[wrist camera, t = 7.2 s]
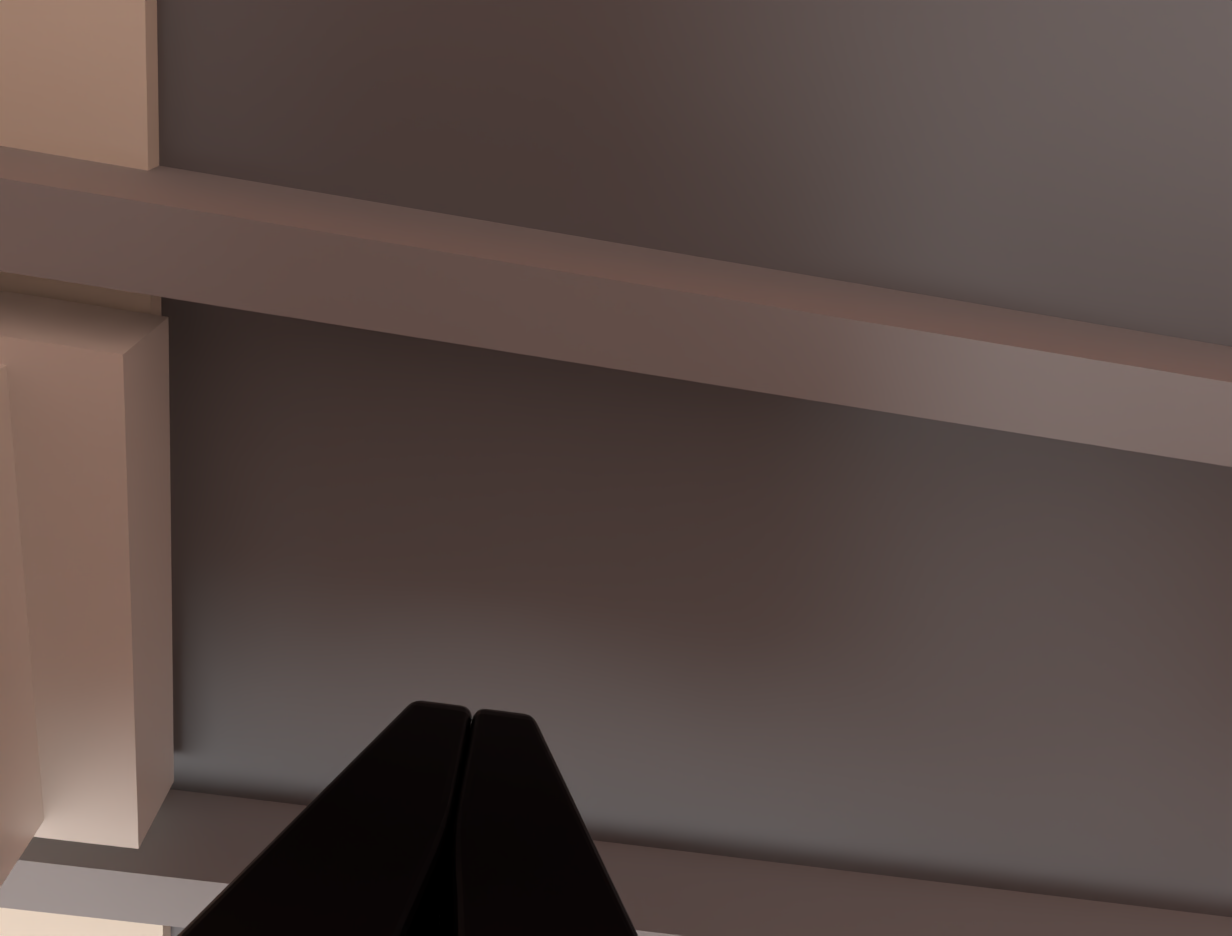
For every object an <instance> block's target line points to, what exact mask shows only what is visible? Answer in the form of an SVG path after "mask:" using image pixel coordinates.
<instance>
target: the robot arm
mask: <svg viewBox="0 0 1232 936" xmlns="http://www.w3.org/2000/svg"><path fill="white" fill-rule="evenodd" d="M471 721H472V723H471ZM177 936H638V934H637V932H636V930H635V928H634V926H633V923H632V921H631V919H630V917H629V915H628V913H627V911H626V909H625V907H624V905H623V902H622V900H621V898H620V896H619V894H618V892H617V890H616V888H615V886H614V884H613V881H612V879H611V877H610V875H609V873H608V871H607V869H606V867H605V865H604V863H603V860H602V858H601V856H600V854H599V852H598V850H597V848H596V846H595V844H594V842H593V839H592V837H591V835H590V833H589V831H588V829H587V827H586V825H585V823H584V820H583V818H582V816H581V814H580V812H579V810H578V808H577V806H576V804H575V802H574V799H573V797H572V795H571V793H570V791H569V789H568V787H567V785H566V783H565V781H564V778H563V776H562V774H561V772H560V770H559V768H558V766H557V764H556V762H555V760H554V757H553V755H552V753H551V751H550V749H549V747H548V745H547V743H546V741H545V739H544V736H543V734H542V732H541V730H540V728H539V726H538V724H537V722H536V721H535V719H534V718H533V717H532V716H530V715H528V714H524V713H516V712H508V711H501V710H493V709H480V710H478V711H476V713H475V714H474V715H473V718H472V714H471V712H470V710H469V709H468V708H467V707H465V706H462V705H454V704H447V703H439V702H431V701H424V700H419V701H415V702H412V703H410V704H409V705H408V706H407V707H406V708H405V709H404V710H403V711H402V712H401V713H400V714H399V715H398V716H397V717H396V718H395V719H394V720H393V721H392V722H391V723H390V724H389V725H388V726H387V727H386V728H385V729H384V730H383V731H382V732H381V733H380V734H379V735H378V736H377V737H376V738H375V739H374V740H373V741H372V742H371V743H370V744H369V745H368V746H367V747H366V748H365V749H364V750H363V751H362V752H361V753H360V754H359V755H358V756H357V757H356V758H355V759H354V760H353V761H352V762H351V763H350V764H349V765H348V766H347V767H346V768H345V769H344V770H343V771H342V772H341V773H340V774H339V775H338V776H337V777H336V778H335V779H334V780H333V781H332V782H331V783H330V784H329V785H328V786H327V787H326V788H325V789H324V790H323V791H322V792H321V793H320V794H319V795H318V796H317V797H316V798H315V799H314V800H313V801H312V802H311V803H310V804H309V805H308V806H307V807H306V808H305V809H304V810H303V811H302V812H301V813H300V814H299V815H298V816H297V817H296V818H295V819H294V820H293V821H292V822H291V823H290V824H289V825H288V826H287V827H286V828H285V829H284V830H283V831H282V832H281V833H280V834H278V835H277V836H276V837H275V838H274V839H273V840H272V841H271V842H270V843H269V844H268V845H267V846H266V847H265V848H264V849H263V850H262V851H261V852H260V853H259V854H258V855H257V856H256V857H255V858H254V859H253V860H252V861H251V862H250V863H249V864H248V865H247V866H246V867H245V868H244V869H243V870H242V871H241V872H240V873H239V874H238V875H237V876H236V877H235V878H234V879H233V880H232V881H231V882H230V883H229V884H228V885H227V886H226V887H225V888H224V889H223V890H222V891H221V892H220V893H219V894H218V895H217V896H216V897H215V898H214V899H213V900H212V901H211V902H210V903H209V904H208V905H207V906H206V907H205V908H204V909H203V910H202V911H201V912H200V913H199V914H198V915H197V916H196V917H195V918H194V919H193V920H192V921H191V922H190V923H189V924H188V925H187V926H186V927H185V928H184V929H183V930H182V931H181V932H180V933H179V934H178V935H177Z"/></svg>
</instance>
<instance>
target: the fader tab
mask: <svg viewBox="0 0 1232 936" xmlns="http://www.w3.org/2000/svg"><path fill="white" fill-rule="evenodd" d="M173 782H174V746H173V661H172V577H171V492H170V407H169V323H168V317H166V316H159V315H153V314H147V313H140V312H134V311H127V310H121V309H115V308H108V307H102V306H96V305H89V304H83V303H77V302H70V301H64V300H58V299H51V298H45V297H39V296H32V295H26V294H20V293H13V292H7V291H0V887H1V886H2V884H3V883H4V881H5V880H6V878H7V877H8V875H9V874H10V872H11V870H12V869H13V867H14V866H15V864H16V863H17V861H18V860H19V858H20V857H21V855H22V853H23V852H24V850H25V849H26V847H27V846H28V844H29V843H30V841H31V840H32V838H33V837H40V838H49V839H57V840H66V841H75V842H83V843H92V844H101V845H109V846H118V847H127V848H135V849H139V847H140V845H141V843H142V842H143V840H144V838H145V836H146V834H147V832H148V830H149V828H150V826H151V824H152V822H153V820H154V818H155V817H156V815H157V813H158V811H159V809H160V807H161V805H162V803H163V801H164V799H165V797H166V795H167V794H168V792H169V790H170V788H171V786H172V784H173Z"/></svg>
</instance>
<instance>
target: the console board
mask: <svg viewBox="0 0 1232 936" xmlns="http://www.w3.org/2000/svg"><path fill="white" fill-rule="evenodd" d="M0 291H7V292H13V293H20V294H26V295H32V296H39V297H45V298H51V299H58V300H64V301H70V302H77V303H83V304H89V305H96V306H102V307H108V308H115V309H121V310H127V311H134V312H140V313H147V314H153V315H159V316H166V317H168V323H169V407H170V492H171V577H172V661H173V746H174V782H173V784H172V786H171V788H170V790H169V792H168V794H167V795H166V797H165V799H164V801H163V803H162V805H161V807H160V809H159V811H158V813H157V815H156V817H155V818H154V820H153V822H152V824H151V826H150V828H149V830H148V832H147V834H146V836H145V838H144V840H143V842H142V843H141V845H140V847H139V849H135V848H127V847H118V846H109V845H101V844H92V843H83V842H75V841H66V840H57V839H49V838H40V837H33V838H32V840H31V841H30V843H29V844H28V846H27V847H26V849H25V850H24V852H23V853H22V855H21V857H20V858H19V860H18V861H17V863H16V864H15V866H14V867H13V869H12V870H11V872H10V874H9V875H8V877H7V878H6V880H5V881H4V883H3V884H2V886H1V887H0V936H177V935H178V934H179V933H180V932H181V931H182V930H183V929H184V928H185V927H186V926H187V925H188V924H189V923H190V922H191V921H192V920H193V919H194V918H195V917H196V916H197V915H198V914H199V913H200V912H201V911H202V910H203V909H204V908H205V907H206V906H207V905H208V904H209V903H210V902H211V901H212V900H213V899H214V898H215V897H216V896H217V895H218V894H219V893H220V892H221V891H222V890H223V889H224V888H225V887H226V886H227V885H228V884H229V883H230V882H231V881H232V880H233V879H234V878H235V877H236V876H237V875H238V874H239V873H240V872H241V871H242V870H243V869H244V868H245V867H246V866H247V865H248V864H249V863H250V862H251V861H252V860H253V859H254V858H255V857H256V856H257V855H258V854H259V853H260V852H261V851H262V850H263V849H264V848H265V847H266V846H267V845H268V844H269V843H270V842H271V841H272V840H273V839H274V838H275V837H276V836H277V835H278V834H280V833H281V832H282V831H283V830H284V829H285V828H286V827H287V826H288V825H289V824H290V823H291V822H292V821H293V820H294V819H295V818H296V817H297V816H298V815H299V814H300V813H301V812H302V811H303V810H304V809H305V808H306V807H307V806H308V805H309V804H310V803H311V802H312V801H313V800H314V799H315V798H316V797H317V796H318V795H319V794H320V793H321V792H322V791H323V790H324V789H325V788H326V787H327V786H328V785H329V784H330V783H331V782H332V781H333V780H334V779H335V778H336V777H337V776H338V775H339V774H340V773H341V772H342V771H343V770H344V769H345V768H346V767H347V766H348V765H349V764H350V763H351V762H352V761H353V760H354V759H355V758H356V757H357V756H358V755H359V754H360V753H361V752H362V751H363V750H364V749H365V748H366V747H367V746H368V745H369V744H370V743H371V742H372V741H373V740H374V739H375V738H376V737H377V736H378V735H379V734H380V733H381V732H382V731H383V730H384V729H385V728H386V727H387V726H388V725H389V724H390V723H391V722H392V721H393V720H394V719H395V718H396V717H397V716H398V715H399V714H400V713H401V712H402V711H403V710H404V709H405V708H406V707H407V706H408V705H409V704H410V703H412V702H415V701H419V700H424V701H431V702H439V703H447V704H454V705H462V706H465V707H467V708H468V709H469V710H470V712H471V714H472V718H473V715H474V714H475V713H476V711H478V710H480V709H493V710H501V711H508V712H516V713H524V714H528V715H530V716H532V717H533V718H534V719H535V721H536V722H537V724H538V726H539V728H540V730H541V732H542V734H543V736H544V739H545V741H546V743H547V745H548V747H549V749H550V751H551V753H552V755H553V757H554V760H555V762H556V764H557V766H558V768H559V770H560V772H561V774H562V776H563V778H564V781H565V783H566V785H567V787H568V789H569V791H570V793H571V795H572V797H573V799H574V802H575V804H576V806H577V808H578V810H579V812H580V814H581V816H582V818H583V820H584V823H585V825H586V827H587V829H588V831H589V833H590V835H591V837H592V839H593V842H594V844H595V846H596V848H597V850H598V852H599V854H600V856H601V858H602V860H603V863H604V865H605V867H606V869H607V871H608V873H609V875H610V877H611V879H612V881H613V884H614V886H615V888H616V890H617V892H618V894H619V896H620V898H621V900H622V902H623V905H624V907H625V909H626V911H627V913H628V915H629V917H630V919H631V921H632V923H633V926H634V928H635V930H636V932H637V934H638V936H1232V0H0ZM471 723H472V721H471Z"/></svg>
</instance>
